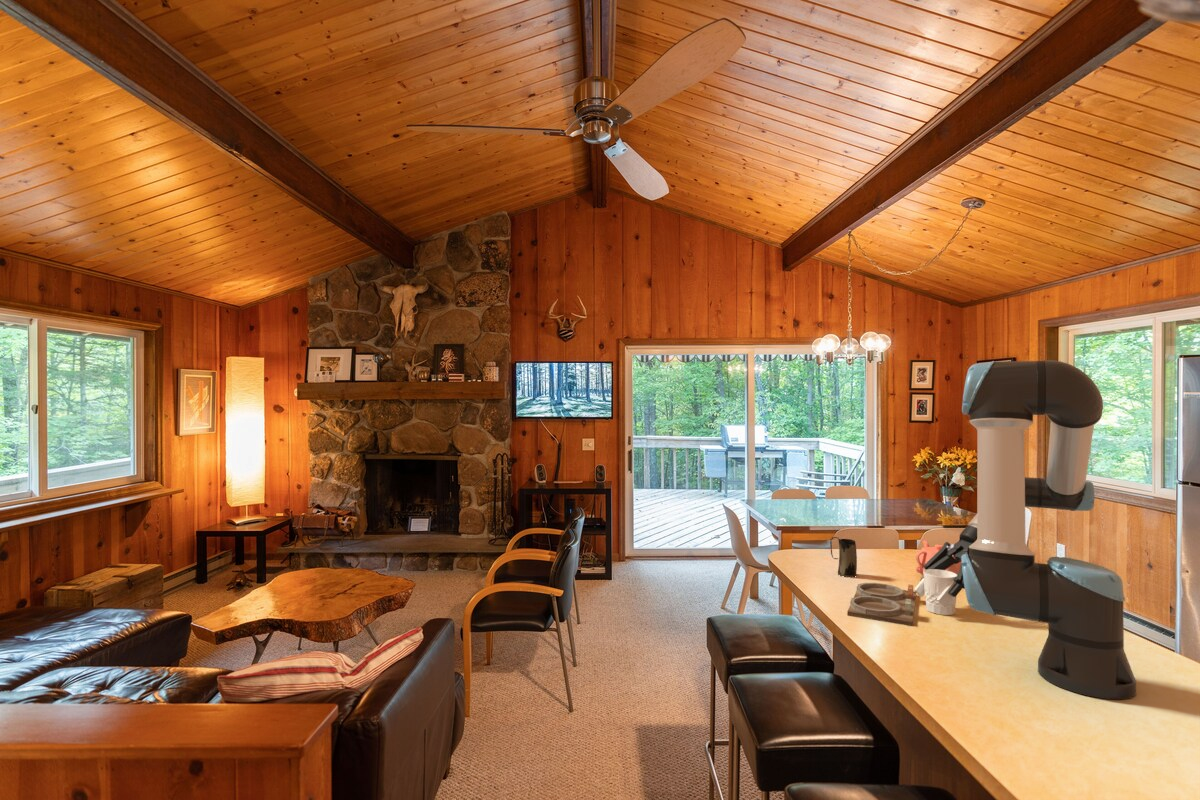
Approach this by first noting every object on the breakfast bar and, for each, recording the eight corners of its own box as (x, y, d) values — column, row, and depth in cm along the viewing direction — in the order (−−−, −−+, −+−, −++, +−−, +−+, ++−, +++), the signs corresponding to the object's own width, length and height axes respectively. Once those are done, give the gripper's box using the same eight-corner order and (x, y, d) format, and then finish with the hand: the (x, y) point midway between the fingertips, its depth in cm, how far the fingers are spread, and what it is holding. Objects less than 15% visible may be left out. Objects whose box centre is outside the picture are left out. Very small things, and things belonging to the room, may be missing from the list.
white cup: (964, 613, 157) (964, 575, 157) (943, 617, 154) (942, 578, 154) (937, 604, 164) (937, 567, 164) (916, 608, 161) (916, 570, 161)
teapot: (922, 571, 197) (922, 537, 197) (972, 580, 186) (972, 545, 186) (906, 580, 187) (906, 544, 187) (957, 590, 176) (957, 553, 176)
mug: (853, 572, 195) (853, 535, 195) (859, 577, 189) (859, 539, 189) (828, 572, 196) (828, 535, 196) (833, 577, 190) (832, 539, 190)
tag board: (912, 625, 149) (912, 609, 149) (847, 615, 156) (847, 599, 156) (916, 595, 172) (916, 581, 172) (859, 587, 180) (859, 574, 180)
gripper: (1023, 552, 152) (968, 621, 149) (959, 535, 172) (910, 595, 169) (1005, 532, 151) (950, 601, 148) (943, 517, 171) (893, 577, 168)
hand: (929, 598), depth 159 cm, fingers closed on white cup, 8 cm apart
